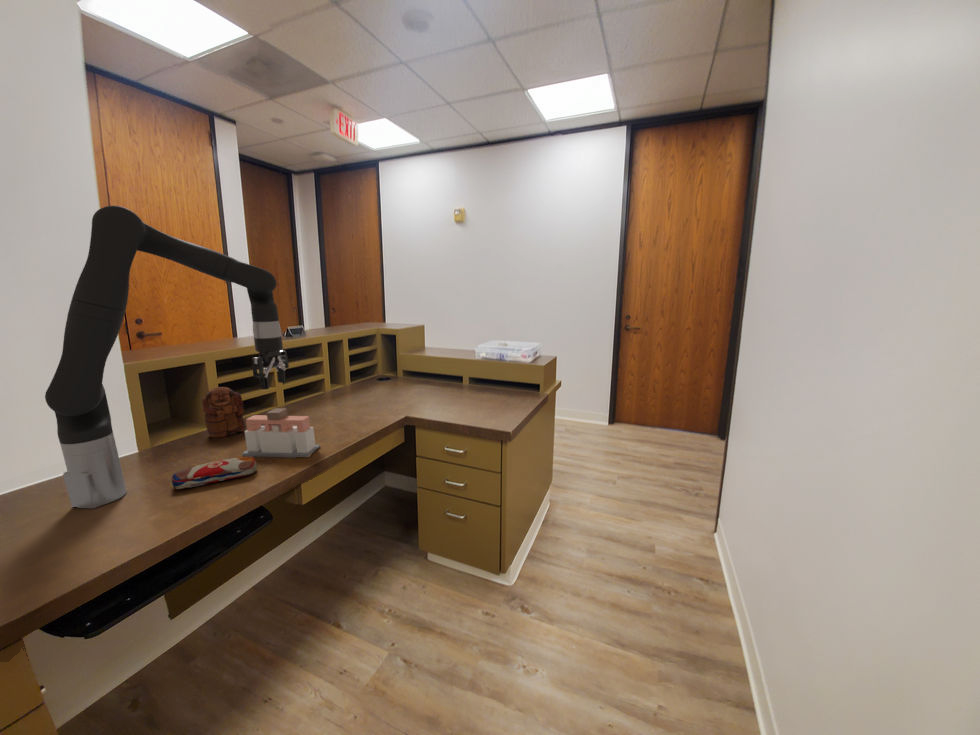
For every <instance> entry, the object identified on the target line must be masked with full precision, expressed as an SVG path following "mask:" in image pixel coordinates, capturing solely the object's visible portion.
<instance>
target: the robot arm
mask: <svg viewBox="0 0 980 735" xmlns="http://www.w3.org/2000/svg"><path fill="white" fill-rule="evenodd" d="M137 252H142V253H145V254H149V255H152V256H153V255H154V256H157V257H160V258H163V259H166V260H169V261H172V262H174V263H177V264H180V265H183V266H185V267H187V268H189V269H193V270H194V271H197V272H200V273H203V274H206V275H207V276H210V277H212V278H215V279H218V280H222V281H225V282H227V283H233V284H236V285H238V286H241V287H244V288H246V292H247V294H248V299H249V302H250V307H251V308H250V309H251V310H250V311H251V312H250V313H251V318H252V334H253V341H254V342H253V343H254V349H255V351H256V352H258V353H259V355H258V356H257V357H255V356H253V357H252V358H251V364H252V365H251V366H252V376H253V377H254V378H257V379H259V383H260V384H259V385H260V389H261V390H269V389H270V383H269V377H268V376H269V372H271V371H272V369H273V368H275V369H276V376H277V377H276V378H277V382H278V383H281V384H282V383H286V370H287V369H288V368H290V366H289V365H290V364H289V358H288V352H287V350H283V349H284V347H283V338H282V329H281V325H280V321H279V320H280V319H279V311H278V306H277V304H276V303H275V300H274V292H273V291H274V290H276V287H277V279H276V277H275V276H274V274H272V273H271V272H270V271H268V270H266V269H264V268H261V267H258V266H255V265H252V264H249V263H245V262H242V261H241V260H240V261H239V260H238V259H235V258H234V257H231V256H229V255H226V254H224V253H221V252H219V251H216V250H214V249H211V248H208V247H205V246H202V245H199V244H196V243H193V242H189V241H186V240H183V239H180V238H177V237H174V236H171V235H169V234H168V233H165V232H162V231H161V230H158V229H156V228H154V227H153V226H151V225H149V224H147V223H145V222H144V221H143V220H142V218H141V217H140V216H138V215H137V213H135V212H134V211H133V210H131V209H130V208H129V209H128V208H127V207H124V206H120V205H106V206H104V207H100V208H99V209H97V210H96V211H95V212H94V213H93V215H92V219H91V231H90V242H89V249H88V254H87V258H86V260H85V261H86V262H85V264H84V266H83V268H82V271H81V273H80V275H79V278H78V280H77V282H76V284H75V285H76V286H75V287H74V288H75V289H74V291H73V294H72V297H71V301H70V304H69V308H68V312H67V317H66V321H65V322H66V323H65V327H64V333H63V340H62V341H63V344H62V353H61V355H60V360H59V363H58V365H57V368H56V370H55V372H54V375H53V377H52V379H51V382H50V384H49V385H48V388H47V389H46V391H45V395H44V399H45V403H46V404H47V406H48V407H49V409H51V410H52V411H53V412H54V414H55V418H56V425H57V426H56V427H57V431H56V432H57V438H58V441H59V445H60V449H61V452H62V456H63V459H64V464H65V467H66V471H65V472H63V474H62V476H63V480H64V483H65V487H66V490H67V495H68V498H69V501H70V506H71V508H72V507H77V508H76V509H96V508H98V507H100V506H103V505H107V504H109V503H112V502H114V501H117V500H119V499H121V498H122V497H124V496H125V495H126V494H127V492H128V491H127V486H126V483H125V478H124V473H123V469H122V465H121V460H120V456H119V451H118V447H117V444H116V443H117V442H116V439H115V434H114V431H113V426H112V418H111V413H110V408H109V407H110V406H109V404H108V399H107V394H106V389H105V387H104V385H103V378H104V372H105V368H106V367H105V366H106V363H107V360H108V357H109V355H110V352H111V351H112V349H113V347H114V345H115V342H116V340H117V338H118V335H119V333H120V331H121V327H122V325H123V321H124V318H125V314H126V310H127V306H128V299H129V293H130V292H129V289H130V273H131V269H132V264H133V261H134V259H135V257H136V254H137Z"/></svg>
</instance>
